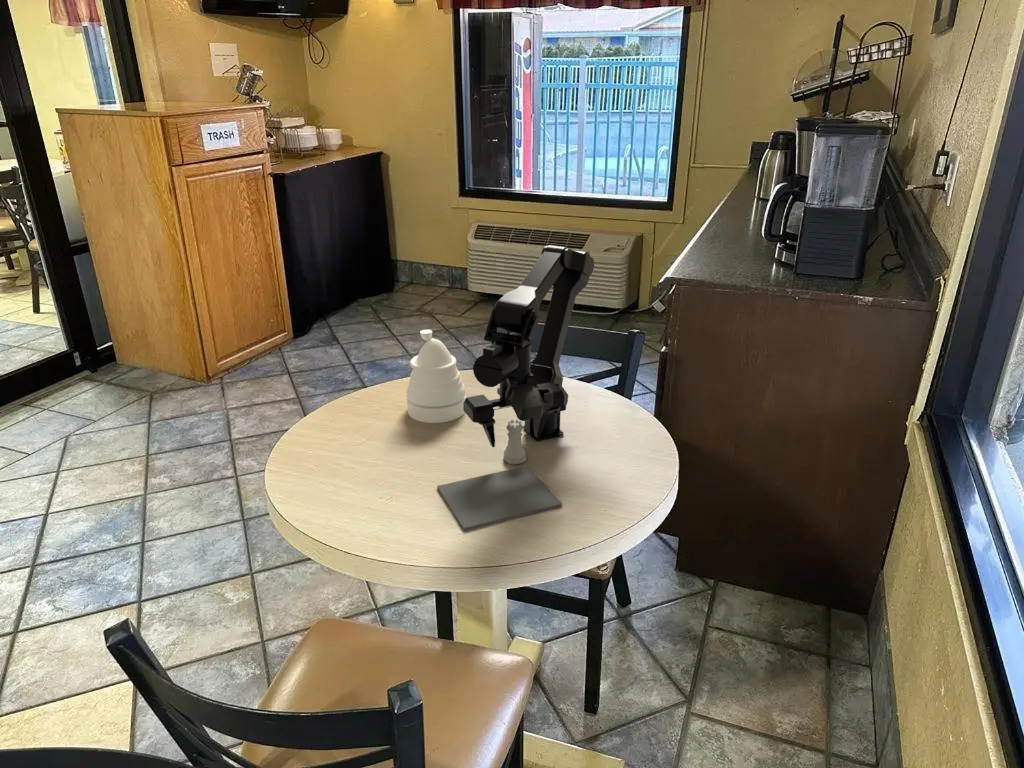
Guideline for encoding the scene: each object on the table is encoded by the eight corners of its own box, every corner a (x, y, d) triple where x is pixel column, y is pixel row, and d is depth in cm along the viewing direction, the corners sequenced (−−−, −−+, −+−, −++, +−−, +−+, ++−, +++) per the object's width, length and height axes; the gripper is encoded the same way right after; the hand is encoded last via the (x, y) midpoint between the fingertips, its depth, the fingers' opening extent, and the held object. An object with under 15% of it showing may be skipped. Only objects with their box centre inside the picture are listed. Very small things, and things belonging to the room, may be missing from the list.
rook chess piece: (518, 467, 136) (518, 430, 132) (498, 461, 138) (498, 424, 135) (530, 457, 139) (531, 421, 136) (511, 451, 141) (511, 415, 138)
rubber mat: (528, 468, 136) (528, 465, 135) (561, 506, 124) (562, 503, 124) (437, 488, 129) (437, 485, 129) (464, 531, 117) (463, 528, 117)
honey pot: (395, 413, 157) (389, 336, 150) (433, 392, 167) (430, 319, 159) (440, 428, 150) (436, 348, 143) (477, 406, 160) (475, 330, 153)
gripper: (483, 392, 120) (485, 472, 127) (581, 374, 127) (578, 451, 134) (461, 368, 130) (463, 444, 136) (553, 353, 137) (551, 425, 143)
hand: (515, 441), depth 137 cm, fingers open, 9 cm apart
